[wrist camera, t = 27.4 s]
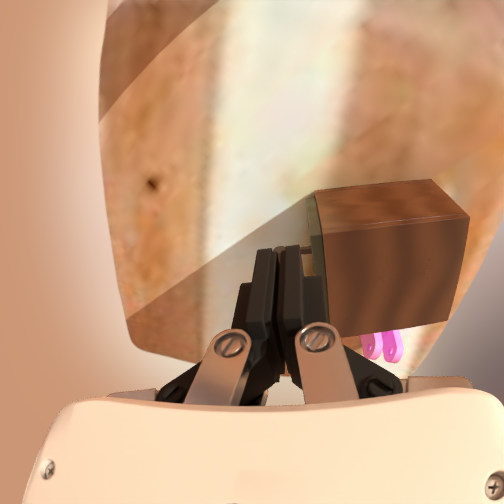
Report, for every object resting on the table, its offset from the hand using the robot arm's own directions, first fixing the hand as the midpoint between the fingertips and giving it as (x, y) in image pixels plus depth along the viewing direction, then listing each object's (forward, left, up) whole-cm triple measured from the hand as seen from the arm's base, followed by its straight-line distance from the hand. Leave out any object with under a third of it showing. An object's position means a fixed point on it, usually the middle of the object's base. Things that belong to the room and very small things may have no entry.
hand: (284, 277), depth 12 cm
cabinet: (+14, +10, -25) cm, 30 cm away
